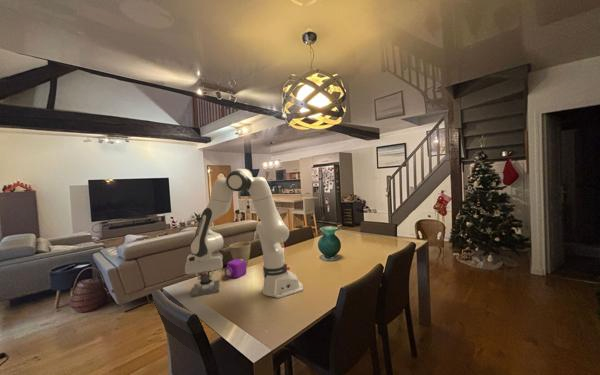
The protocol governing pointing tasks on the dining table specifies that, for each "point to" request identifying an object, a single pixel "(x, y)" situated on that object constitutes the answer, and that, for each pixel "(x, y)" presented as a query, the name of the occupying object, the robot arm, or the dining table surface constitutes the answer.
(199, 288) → the octagon ring plate
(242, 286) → the dining table surface
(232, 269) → the toy camera
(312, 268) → the dining table surface
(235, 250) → the plant pot
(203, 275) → the dome-topped dark cylinder
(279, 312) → the dining table surface
